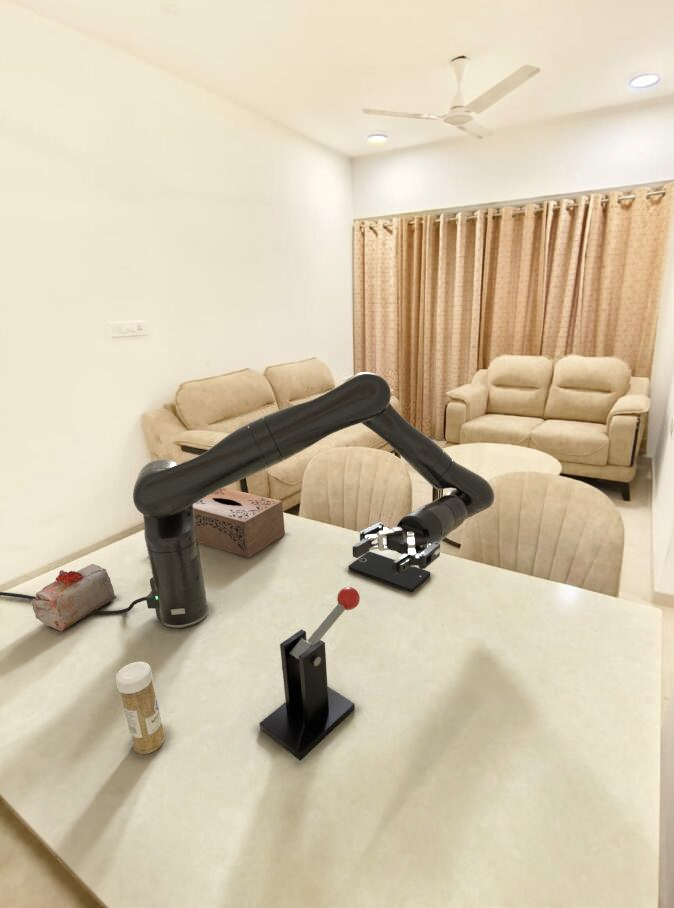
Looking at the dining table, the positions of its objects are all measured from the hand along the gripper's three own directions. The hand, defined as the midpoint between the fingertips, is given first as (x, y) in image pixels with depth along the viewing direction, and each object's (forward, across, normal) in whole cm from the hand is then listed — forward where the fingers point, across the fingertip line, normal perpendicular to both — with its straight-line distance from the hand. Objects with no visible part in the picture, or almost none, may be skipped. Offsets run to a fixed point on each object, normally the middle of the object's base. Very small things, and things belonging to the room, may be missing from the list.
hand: (373, 560), depth 84 cm
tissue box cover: (-14, -62, +21) cm, 67 cm away
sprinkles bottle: (+35, -15, +21) cm, 43 cm away
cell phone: (-25, -16, +21) cm, 36 cm away
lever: (+11, 0, +7) cm, 13 cm away
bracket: (+17, 0, +21) cm, 27 cm away
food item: (+28, -58, +21) cm, 67 cm away
